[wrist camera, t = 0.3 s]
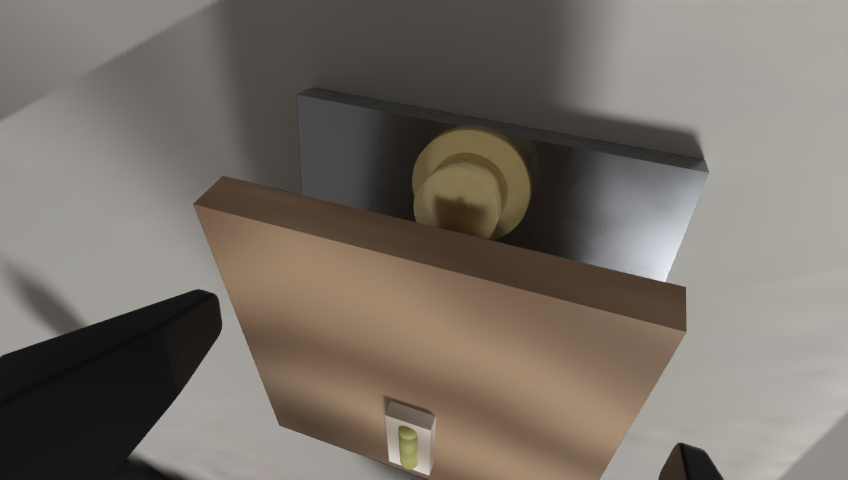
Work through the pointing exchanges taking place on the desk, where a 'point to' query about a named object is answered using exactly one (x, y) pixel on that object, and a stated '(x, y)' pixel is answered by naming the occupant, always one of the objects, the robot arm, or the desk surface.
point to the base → (562, 169)
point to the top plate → (437, 338)
